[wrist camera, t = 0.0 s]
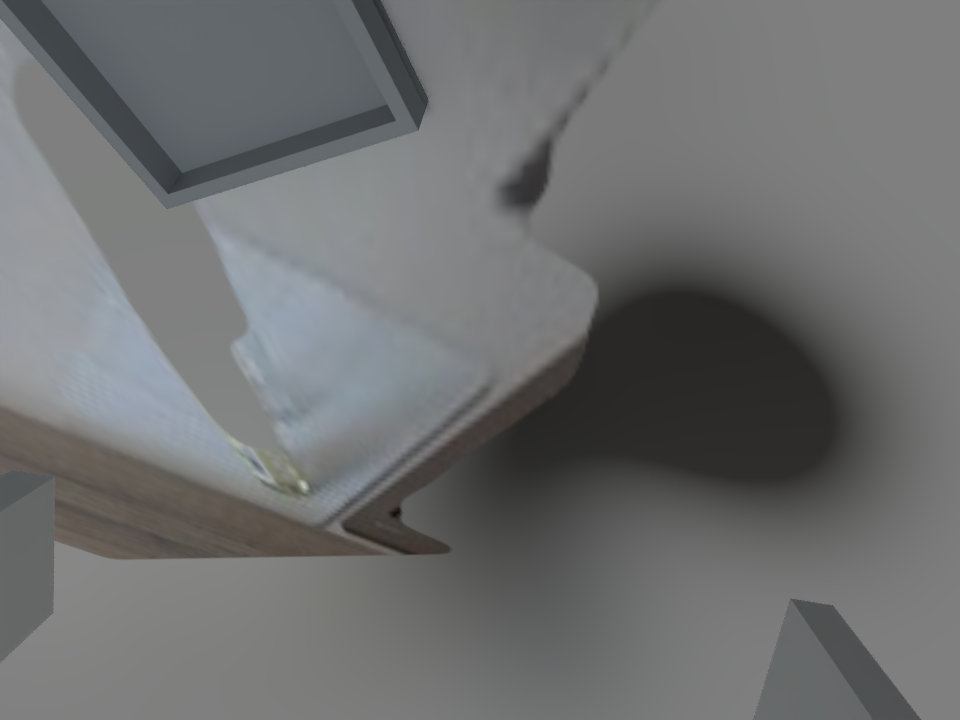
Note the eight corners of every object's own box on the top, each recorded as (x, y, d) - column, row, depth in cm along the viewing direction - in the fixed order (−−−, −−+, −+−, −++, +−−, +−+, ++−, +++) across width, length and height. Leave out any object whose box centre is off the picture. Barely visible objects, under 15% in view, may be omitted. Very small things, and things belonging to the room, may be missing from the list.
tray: (-57, -118, 38) (-99, -95, 36) (233, -302, 31) (203, -289, 29) (186, 179, 52) (166, 209, 50) (428, 100, 44) (418, 130, 42)
